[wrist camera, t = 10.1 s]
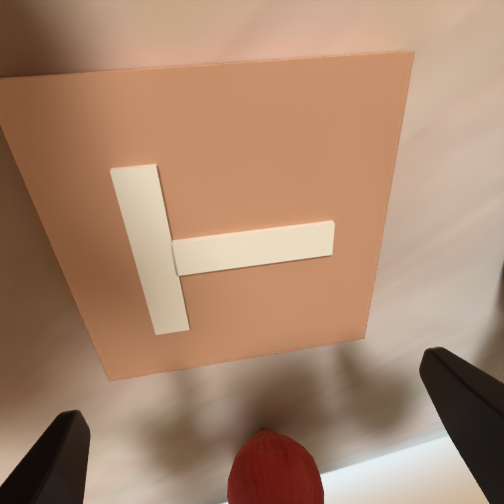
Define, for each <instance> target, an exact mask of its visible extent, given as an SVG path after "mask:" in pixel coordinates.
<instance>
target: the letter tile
mask: <svg viewBox="0 0 504 504" xmlns="http://www.w3.org/2000/svg"><path fill="white" fill-rule="evenodd" d="M414 53H415V52H410V51H396V52H381V53H366V54H351V55H336V56H321V57H306V58H291V59H276V60H261V61H246V62H231V63H216V64H201V65H186V66H171V67H156V68H141V69H126V70H111V71H97V72H82V73H67V74H52V75H37V76H22V77H7V78H0V126H1V129H2V131H3V133H4V136H5V138H6V140H7V143H8V145H9V147H10V150H11V152H12V154H13V157H14V159H15V162H16V164H17V166H18V169H19V171H20V173H21V176H22V178H23V180H24V183H25V185H26V187H27V190H28V192H29V194H30V197H31V199H32V201H33V204H34V206H35V209H36V211H37V213H38V216H39V218H40V220H41V223H42V225H43V227H44V230H45V232H46V234H47V237H48V239H49V241H50V244H51V246H52V249H53V251H54V253H55V256H56V258H57V260H58V263H59V265H60V267H61V270H62V272H63V274H64V277H65V279H66V281H67V284H68V286H69V288H70V291H71V293H72V296H73V298H74V300H75V303H76V305H77V307H78V310H79V312H80V314H81V317H82V319H83V321H84V324H85V326H86V328H87V331H88V333H89V336H90V338H91V340H92V343H93V345H94V347H95V350H96V352H97V354H98V357H99V359H100V361H101V364H102V366H103V368H104V371H105V373H106V375H107V378H108V380H109V381H115V380H121V379H127V378H133V377H139V376H145V375H151V374H157V373H163V372H169V371H175V370H181V369H187V368H193V367H199V366H205V365H211V364H217V363H223V362H229V361H235V360H241V359H247V358H253V357H259V356H265V355H271V354H277V353H283V352H289V351H295V350H301V349H307V348H312V347H318V346H324V345H330V344H336V343H342V342H348V341H354V340H360V339H365V333H366V327H367V322H368V316H369V310H370V305H371V299H372V293H373V287H374V282H375V276H376V270H377V265H378V259H379V253H380V247H381V242H382V236H383V230H384V224H385V219H386V213H387V207H388V202H389V196H390V190H391V184H392V179H393V173H394V167H395V162H396V156H397V150H398V144H399V139H400V133H401V127H402V122H403V116H404V110H405V104H406V99H407V93H408V87H409V81H410V76H411V70H412V64H413V59H414Z"/></svg>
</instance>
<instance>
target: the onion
mask: <svg viewBox="0 0 504 504" xmlns="http://www.w3.org/2000/svg"><path fill="white" fill-rule="evenodd" d="M227 498H228V503H229V504H324V490H323V486H322V482H321V477H320V474H319V471H318V468H317V466H316V464H315V461H314V459H313V457H312V456H311V455H310V454H309V452H308V451H307V450H306V449H305V448H304V447H303V446H301V445H300V444H299V443H297V442H296V441H294V440H292V439H291V438H289V437H286V436H283V435H281V434H278V433H275V432H274V431H272V430H270V429H267V428H265V429H261V430H260V431H259V432H257V433H256V434H255V435H254V436H253V437H252V438H251V439H250V440H249V441H248V442H247V443H246V444H245V445H244V446H243V447H242V448H241V450H240V451H239V452H238V454H237V455H236V457H235V460H234V463H233V465H232V469H231V472H230V475H229V478H228V490H227Z"/></svg>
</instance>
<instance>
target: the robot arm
mask: <svg viewBox="0 0 504 504" xmlns="http://www.w3.org/2000/svg"><path fill="white" fill-rule="evenodd" d="M419 373H420V377H421V379H422V381H423V383H424V385H425V387H426V389H427V392H428V394H429V396H430V398H431V400H432V402H433V404H434V406H435V408H436V410H437V412H438V415H439V417H440V419H441V421H442V423H443V425H444V427H445V429H446V431H447V433H448V434H449V436H450V438H451V440H452V441H453V443H454V445H455V446H456V448H457V450H458V451H459V453H460V455H461V457H462V458H463V460H464V461H465V463H466V465H467V467H468V468H469V470H470V472H471V473H472V475H473V477H474V478H475V480H476V482H477V483H478V485H479V487H480V488H481V490H482V492H483V493H484V495H485V497H486V498H487V500H488V502H489V503H490V504H504V384H503V383H502V382H500V381H498V380H497V379H495V378H493V377H492V376H490V375H488V374H487V373H485V372H483V371H482V370H480V369H478V368H477V367H475V366H473V365H472V364H470V363H468V362H467V361H465V360H463V359H462V358H460V357H458V356H457V355H455V354H453V353H452V352H450V351H448V350H447V349H445V348H443V347H434V348H428V349H426V350H425V352H424V355H423V358H422V361H421V364H420V368H419ZM89 446H90V429H89V426H88V425H87V423H86V421H85V419H84V417H83V415H82V413H81V412H80V411H79V410H71V411H66V412H62V413H60V414H59V415H58V416H57V417H56V418H55V419H54V421H53V422H52V423H51V424H50V426H49V427H48V428H47V429H46V431H45V432H44V433H43V434H42V435H41V437H40V438H39V439H38V440H37V442H36V443H35V444H34V445H33V447H32V448H31V449H30V450H29V452H28V453H27V454H26V455H25V457H24V458H23V459H22V460H21V462H20V463H19V464H18V465H17V466H16V468H15V469H14V470H13V471H12V473H11V474H10V475H9V476H8V478H7V479H6V480H5V481H4V483H3V484H2V485H1V486H0V504H83V499H84V491H85V482H86V473H87V464H88V455H89Z"/></svg>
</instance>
